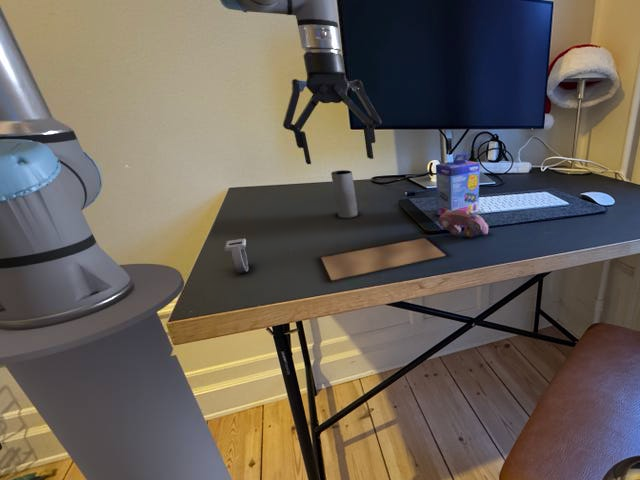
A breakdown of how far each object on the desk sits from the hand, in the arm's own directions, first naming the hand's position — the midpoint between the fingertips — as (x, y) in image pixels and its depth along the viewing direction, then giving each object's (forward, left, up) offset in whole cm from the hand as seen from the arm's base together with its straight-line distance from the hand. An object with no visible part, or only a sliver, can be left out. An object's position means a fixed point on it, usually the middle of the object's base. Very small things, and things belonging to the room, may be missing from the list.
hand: (340, 160), depth 84 cm
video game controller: (+18, -26, -13) cm, 34 cm away
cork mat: (0, -29, -13) cm, 32 cm away
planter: (0, 0, -13) cm, 13 cm away
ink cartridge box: (+24, -12, -13) cm, 30 cm away
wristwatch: (-22, -23, -13) cm, 34 cm away
